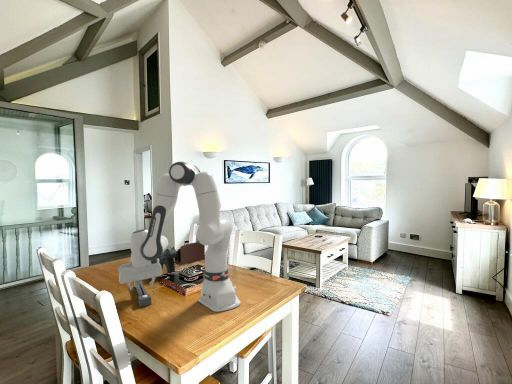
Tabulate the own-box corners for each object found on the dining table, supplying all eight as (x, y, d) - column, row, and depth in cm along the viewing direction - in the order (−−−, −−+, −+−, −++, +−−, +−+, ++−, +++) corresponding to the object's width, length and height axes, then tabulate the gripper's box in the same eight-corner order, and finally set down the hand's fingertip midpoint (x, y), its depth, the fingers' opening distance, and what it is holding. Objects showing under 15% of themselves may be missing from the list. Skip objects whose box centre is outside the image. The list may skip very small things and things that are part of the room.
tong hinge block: (151, 304, 124) (151, 296, 124) (139, 307, 122) (139, 299, 122) (149, 300, 128) (149, 293, 128) (138, 303, 126) (138, 295, 125)
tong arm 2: (147, 299, 129) (147, 293, 128) (144, 300, 128) (144, 294, 128) (141, 284, 147) (141, 279, 147) (138, 285, 147) (138, 279, 146)
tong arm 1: (142, 300, 127) (142, 294, 127) (139, 301, 127) (139, 295, 127) (137, 285, 146) (137, 280, 146) (134, 285, 146) (134, 280, 145)
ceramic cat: (177, 275, 164) (177, 243, 163) (168, 277, 159) (167, 245, 158) (162, 267, 177) (162, 238, 177) (153, 270, 173) (152, 240, 172)
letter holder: (205, 259, 197) (204, 240, 196) (181, 265, 183) (180, 245, 182) (198, 256, 204) (197, 238, 203) (174, 262, 190) (173, 243, 189)
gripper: (118, 266, 126) (119, 295, 126) (162, 259, 136) (163, 285, 137) (117, 263, 131) (118, 290, 131) (159, 256, 142) (160, 281, 142)
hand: (141, 287), depth 134 cm, fingers open, 8 cm apart
